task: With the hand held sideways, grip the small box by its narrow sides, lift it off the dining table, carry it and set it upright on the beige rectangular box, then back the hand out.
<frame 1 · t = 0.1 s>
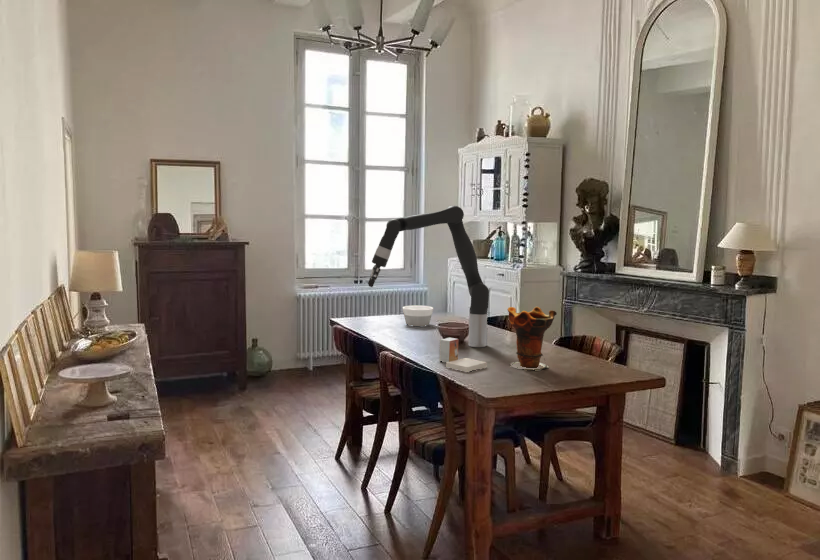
hand: (369, 285, 335), 31 cm above the table, tool tilted 20°, fingers open, 8 cm apart
small box: (448, 361, 308), on the table
decorative vase: (528, 366, 301), on the table
bowl: (417, 325, 404), on the table
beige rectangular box: (466, 367, 295), on the table
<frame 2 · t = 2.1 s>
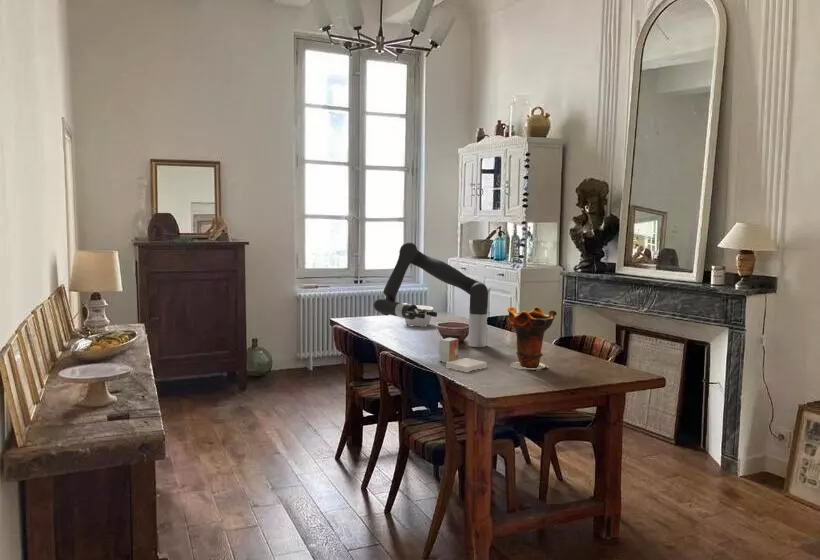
hand: (430, 315, 314), 20 cm above the table, tool horizontal, fingers open, 8 cm apart
nothing on the table moved.
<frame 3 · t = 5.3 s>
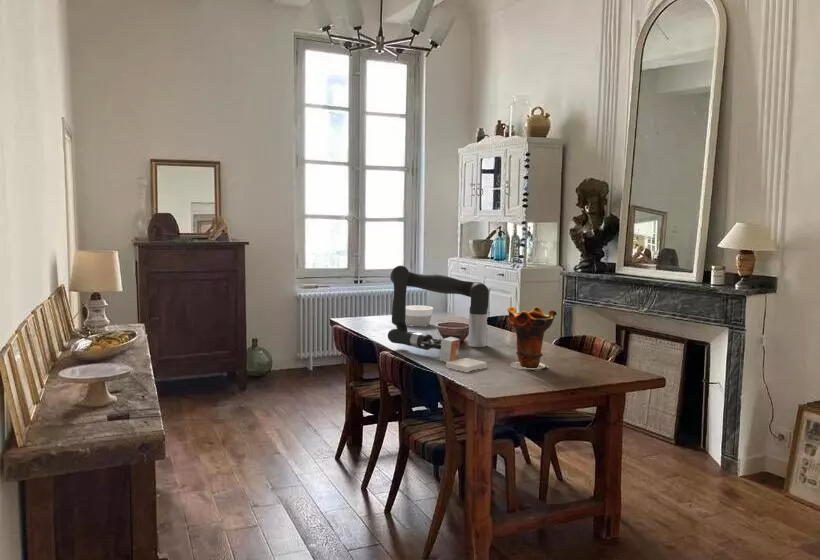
hand: (446, 345, 308), 7 cm above the table, tool horizontal, fingers open, 8 cm apart
small box: (448, 361, 308), on the table, touching gripper
everything else where it was.
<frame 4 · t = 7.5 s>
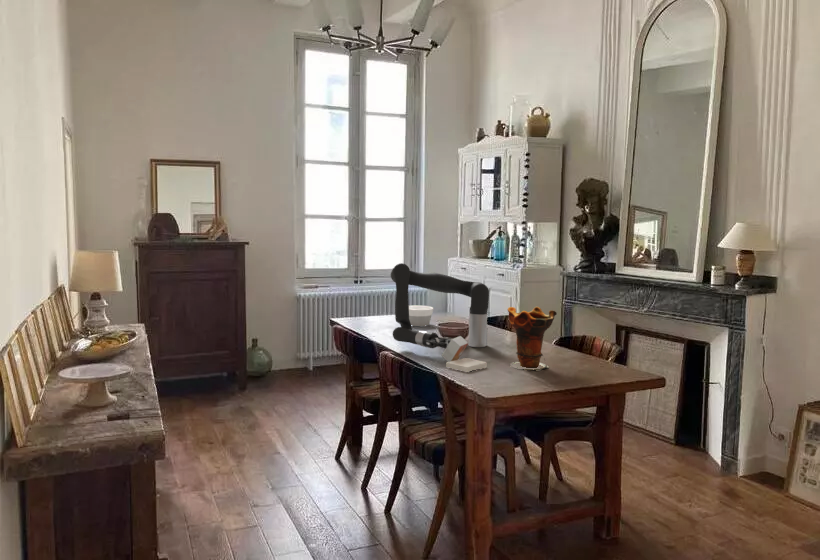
hand: (452, 344, 306), 8 cm above the table, tool horizontal, fingers closed on small box, 8 cm apart
small box: (449, 357, 307), point 2 cm above the table, touching gripper
everything else where it was.
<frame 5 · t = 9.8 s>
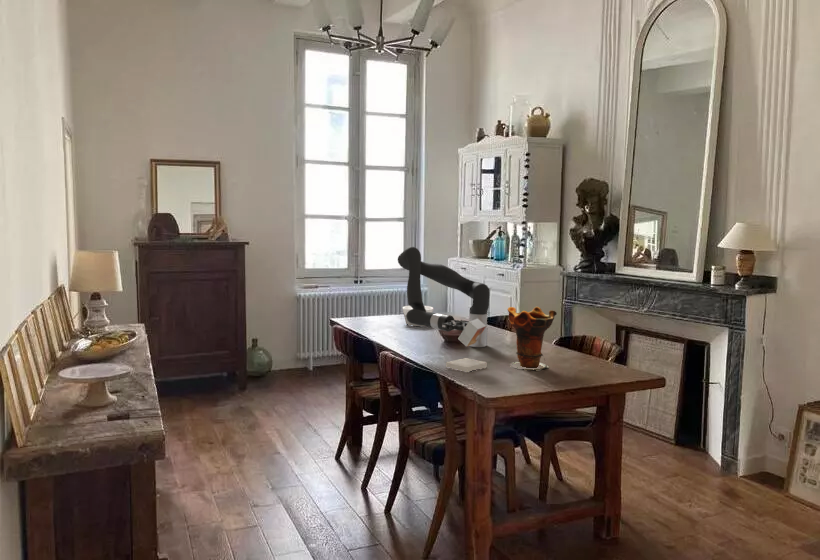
hand: (469, 327, 292), 19 cm above the table, tool horizontal, fingers closed on small box, 8 cm apart
small box: (466, 341, 294), point 12 cm above the table, touching gripper
everything else where it was.
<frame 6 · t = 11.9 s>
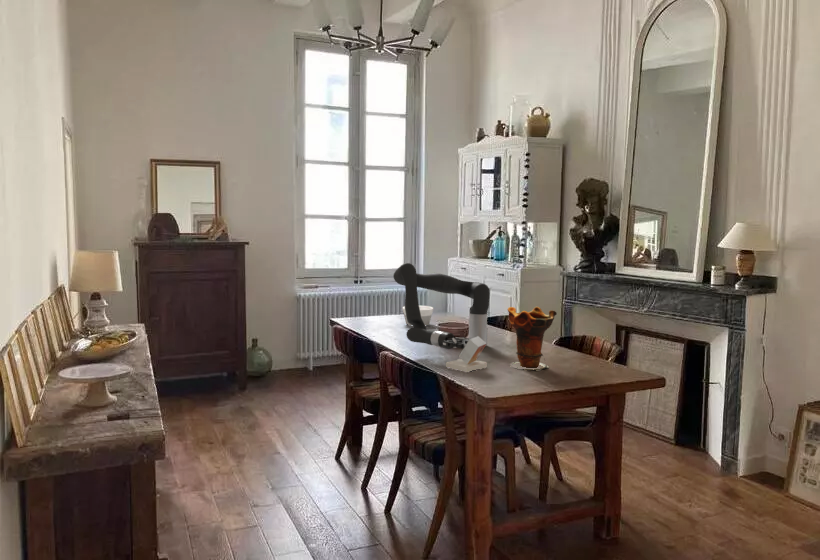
hand: (469, 345, 293), 11 cm above the table, tool horizontal, fingers closed on small box, 8 cm apart
small box: (466, 359, 295), point 4 cm above the table, touching gripper, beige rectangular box
everything else where it was.
when the fingers open (11 cm above the table, at t = 13.7 s): small box drops 2 cm, resting on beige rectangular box.
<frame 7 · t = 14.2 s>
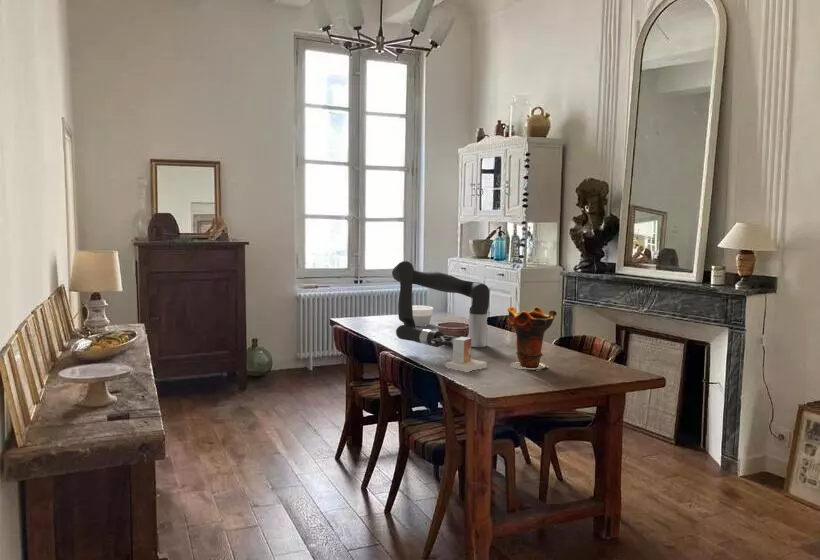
hand: (457, 343, 298), 10 cm above the table, tool horizontal, fingers open, 8 cm apart
small box: (461, 361, 297), point 2 cm above the table, touching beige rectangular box
everything else where it was.
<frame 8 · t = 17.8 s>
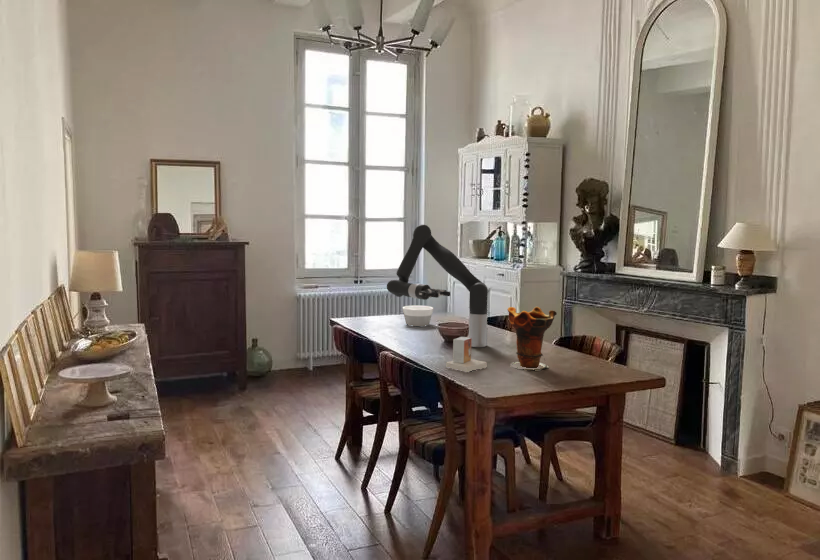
hand: (444, 294, 315), 30 cm above the table, tool horizontal, fingers open, 8 cm apart
nothing on the table moved.
at the end: small box inside the target area on the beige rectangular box (2.8 cm from its centre), point 2.3 cm above the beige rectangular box's base; small box tilted 0°; the gripper is holding nothing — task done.
